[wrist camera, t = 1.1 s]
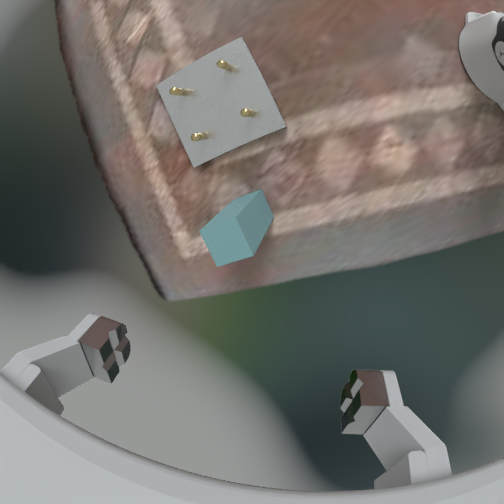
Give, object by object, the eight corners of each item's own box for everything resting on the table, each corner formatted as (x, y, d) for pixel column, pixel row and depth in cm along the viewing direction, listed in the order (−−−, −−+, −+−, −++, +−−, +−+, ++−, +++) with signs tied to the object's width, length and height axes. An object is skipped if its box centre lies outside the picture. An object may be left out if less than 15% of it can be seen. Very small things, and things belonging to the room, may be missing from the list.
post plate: (243, 38, 33) (234, 30, 29) (287, 126, 38) (282, 126, 34) (159, 86, 39) (144, 84, 35) (196, 166, 44) (183, 171, 40)
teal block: (261, 188, 43) (235, 217, 31) (273, 217, 45) (253, 255, 33) (233, 199, 45) (199, 230, 33) (246, 226, 47) (217, 266, 35)
